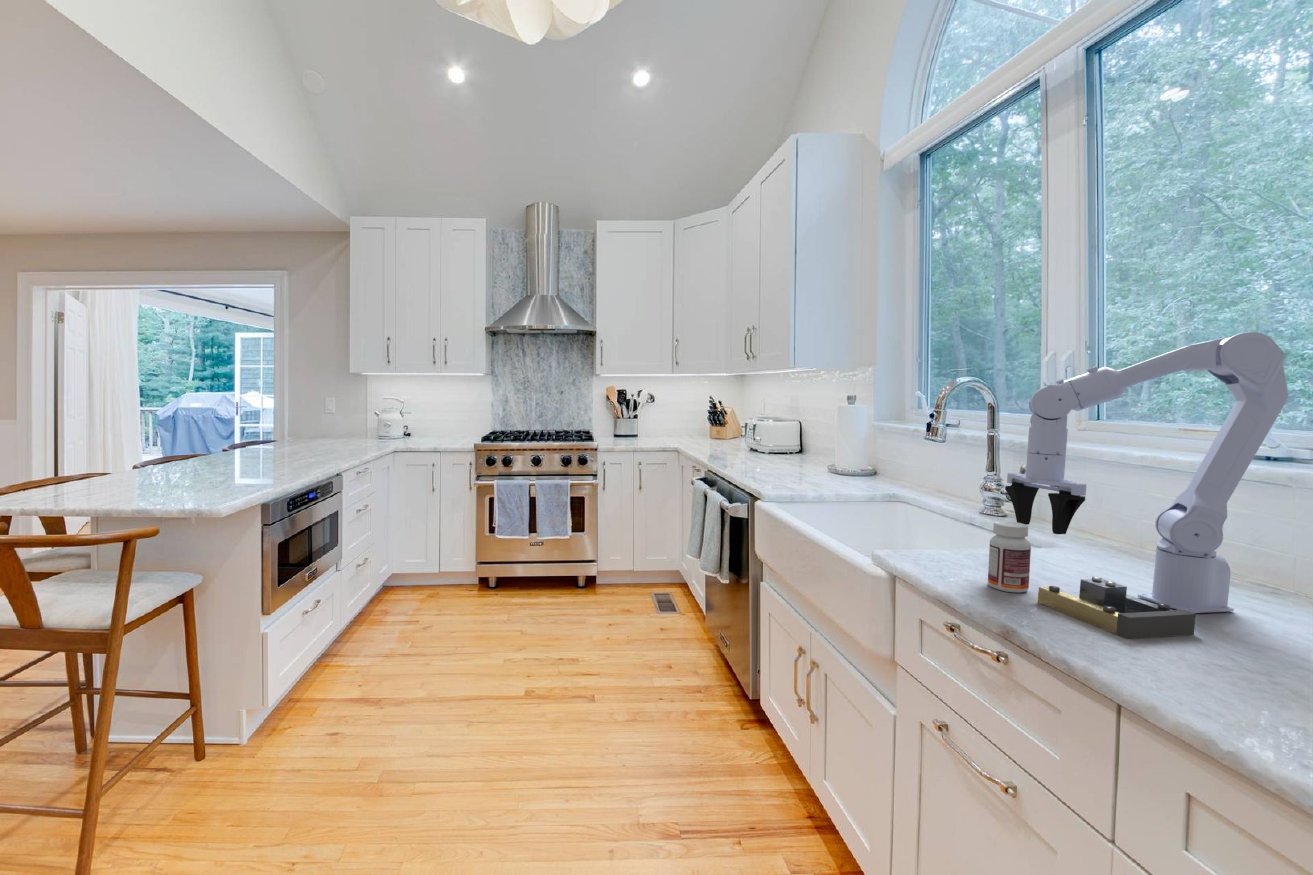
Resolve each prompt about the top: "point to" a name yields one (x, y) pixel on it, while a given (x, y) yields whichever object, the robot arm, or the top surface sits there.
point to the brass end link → (1079, 608)
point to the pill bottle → (1009, 557)
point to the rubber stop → (1155, 624)
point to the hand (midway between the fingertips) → (1040, 528)
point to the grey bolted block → (1103, 593)
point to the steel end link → (1143, 605)
